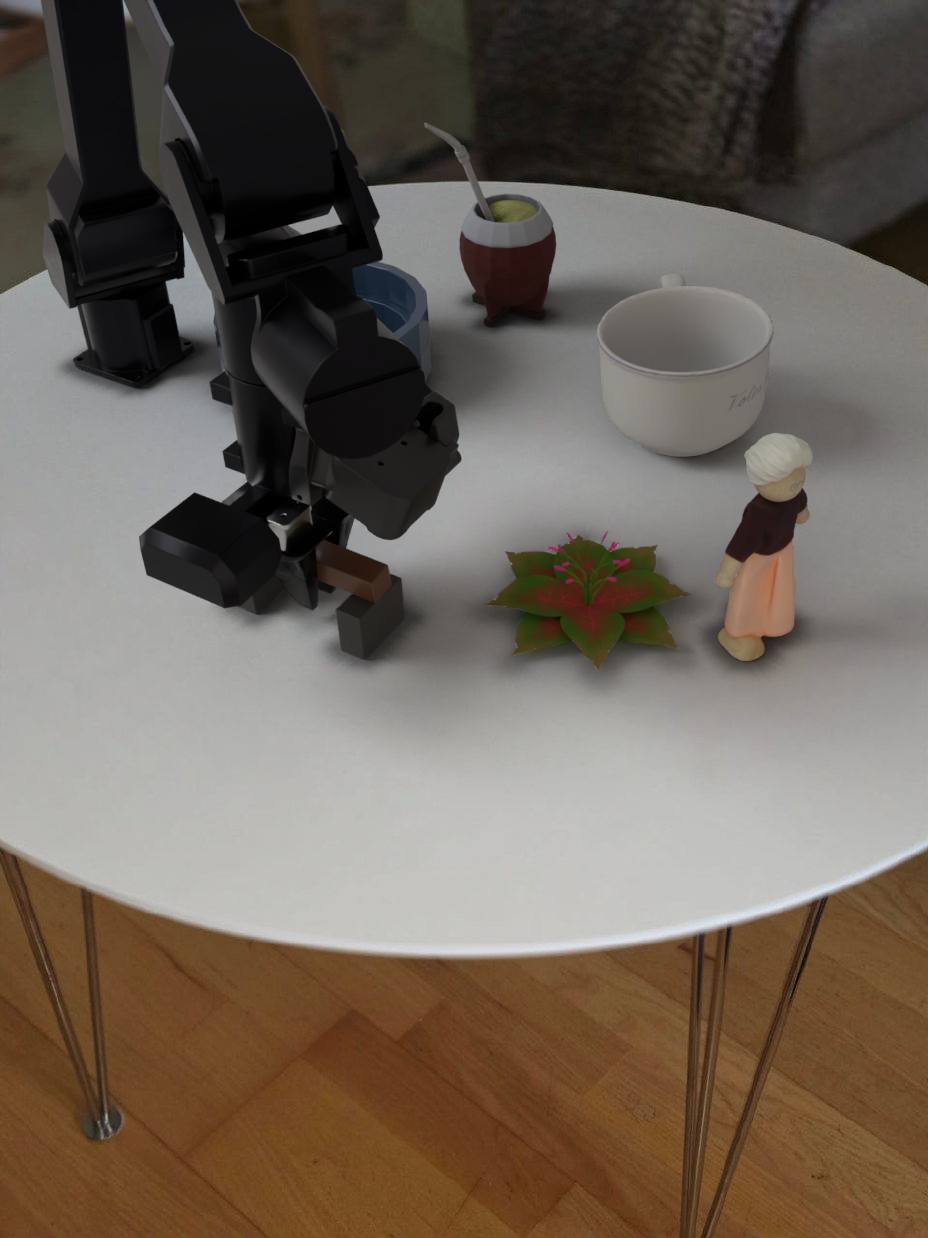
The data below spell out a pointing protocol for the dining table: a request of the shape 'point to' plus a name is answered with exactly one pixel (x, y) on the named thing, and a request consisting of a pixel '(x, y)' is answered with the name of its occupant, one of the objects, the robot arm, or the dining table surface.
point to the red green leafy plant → (588, 597)
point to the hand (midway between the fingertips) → (317, 598)
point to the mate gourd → (505, 248)
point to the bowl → (391, 307)
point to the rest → (351, 615)
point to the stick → (352, 571)
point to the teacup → (684, 366)
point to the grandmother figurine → (765, 547)
